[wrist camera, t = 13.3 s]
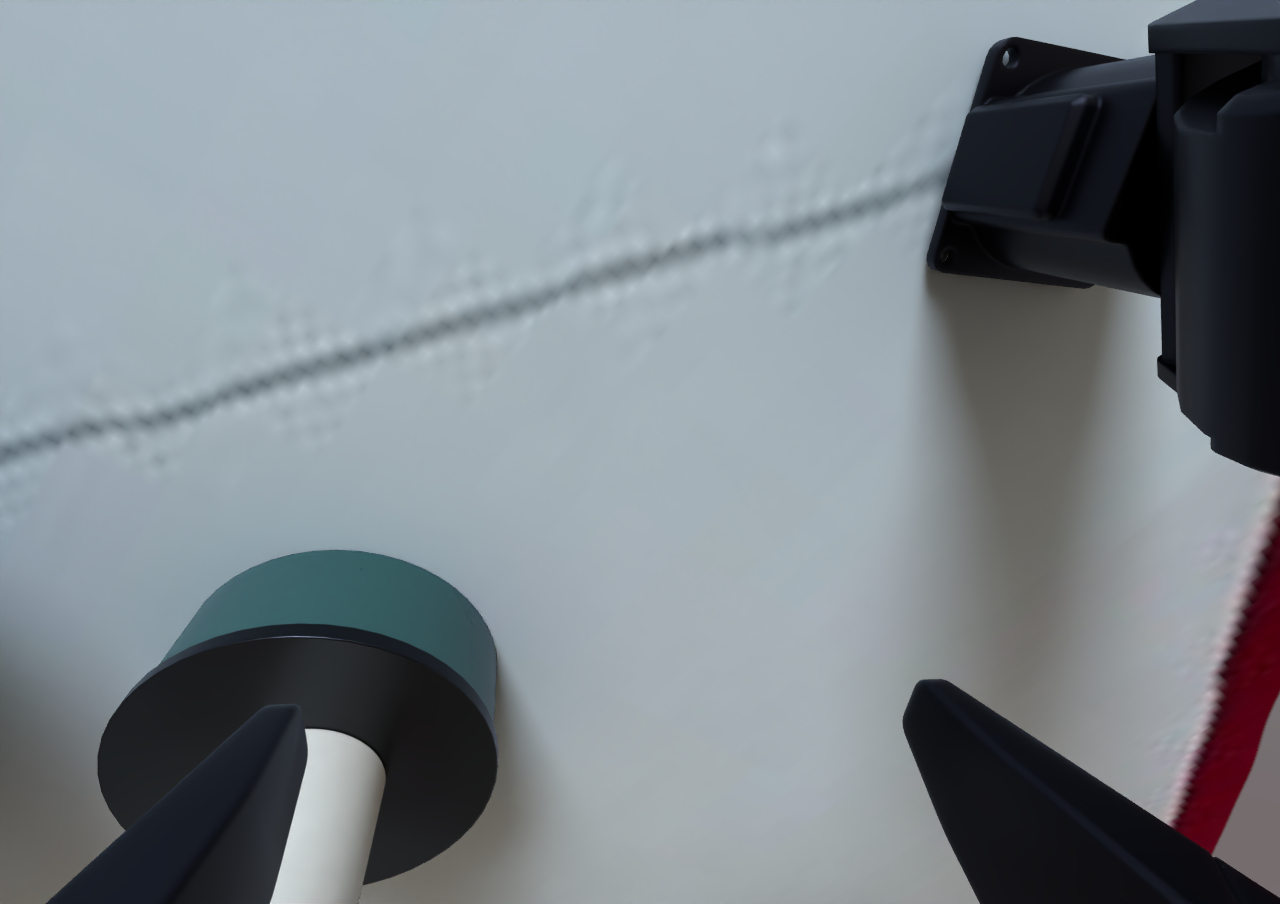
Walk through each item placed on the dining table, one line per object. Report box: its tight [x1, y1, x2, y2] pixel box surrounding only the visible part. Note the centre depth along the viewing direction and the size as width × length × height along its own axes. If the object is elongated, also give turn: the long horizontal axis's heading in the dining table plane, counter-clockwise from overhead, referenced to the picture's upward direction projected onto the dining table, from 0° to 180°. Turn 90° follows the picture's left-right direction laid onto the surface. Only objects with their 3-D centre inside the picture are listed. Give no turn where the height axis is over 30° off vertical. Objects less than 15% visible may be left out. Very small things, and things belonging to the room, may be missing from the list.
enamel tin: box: [98, 550, 498, 885], centre depth 21 cm, size 11×11×5 cm
